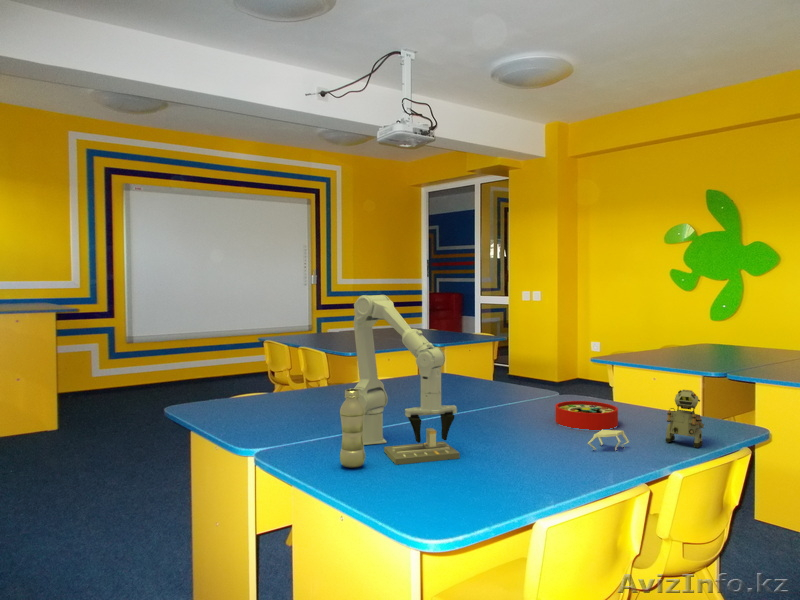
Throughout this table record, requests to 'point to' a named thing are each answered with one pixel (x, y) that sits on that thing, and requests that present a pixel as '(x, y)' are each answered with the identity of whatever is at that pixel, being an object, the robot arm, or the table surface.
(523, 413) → the table surface
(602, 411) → the red round tray
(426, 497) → the table surface
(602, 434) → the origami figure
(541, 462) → the table surface
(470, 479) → the table surface
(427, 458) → the console
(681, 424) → the figurine
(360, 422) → the plastic bottle
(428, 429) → the fader
